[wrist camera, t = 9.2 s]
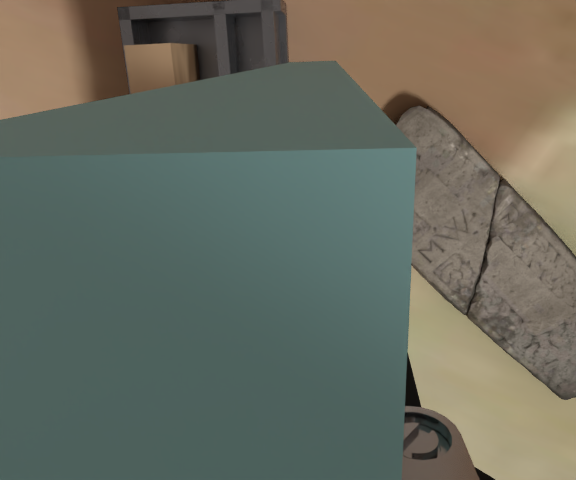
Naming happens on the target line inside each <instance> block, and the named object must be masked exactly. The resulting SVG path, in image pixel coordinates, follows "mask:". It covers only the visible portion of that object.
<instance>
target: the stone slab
mask: <svg viewBox="0 0 576 480" xmlns="http://www.w3.org/2000/svg"><path fill="white" fill-rule="evenodd" d="M396 126H397V127H398V128H399V129H400V130H401V132H402V133H403V134H404V135H405V136H406V137H407V138H408V139H409V140H410V141H411V142H412V143H413V144H414V145H415V147H416V148H417V151H416V173H415V195H414V217H413V239H412V261H411V265H412V266H413V267H414V268H415V269H416V270H417V271H418V272H419V273H420V274H421V276H422V277H423V278H425V279H426V280H427V281H428V282H429V284H430V285H432V286H433V288H434V289H436V290H437V291H438V292H439V293H440V294H441V295H442V296H443V297H444V298H445V299H446V300H447V301H448V302H450V303H451V304H452V305H453V306H454V307H455V308H456V309H458V310H459V311H461V313H462V314H464V315H467V316H468V318H469V319H470V320H471V321H472V322H473V323H474V324H475V325H476V326H478V327H479V328H480V329H481V330H482V331H483V332H484V333H485V334H487V335H488V336H489V337H490V338H491V339H492V340H493V341H494V342H495V343H496V344H497V345H499V346H500V347H501V348H502V349H503V350H504V351H505V352H506V353H508V354H509V355H510V356H511V357H512V358H513V359H515V360H516V361H518V362H519V363H520V364H521V365H523V366H524V367H525V368H526V369H527V370H528V371H529V372H531V373H532V375H533V376H535V377H536V378H537V379H539V380H540V381H541V382H543V383H544V384H545V385H546V386H547V387H548V388H550V390H551V391H553V392H554V393H555V394H556V395H557V396H558V397H560V398H561V399H564V400H568V399H571V398H573V397H576V257H575V255H574V254H573V253H572V251H571V250H570V249H569V248H568V247H567V246H566V245H565V243H564V242H563V241H562V240H561V239H560V238H559V237H558V235H557V234H556V233H555V232H554V231H553V229H552V228H551V227H550V226H549V225H548V224H547V223H546V222H545V221H544V220H543V219H542V217H541V216H539V215H538V213H537V212H536V211H535V210H534V209H533V208H532V207H531V206H530V205H529V204H528V203H526V201H525V200H524V199H523V198H522V197H521V196H520V195H519V194H518V193H517V192H516V191H515V190H514V189H513V187H512V186H511V185H510V184H509V183H508V182H507V181H506V180H501V181H499V180H500V176H499V175H498V173H497V172H496V171H495V170H494V169H493V168H492V167H491V166H490V164H488V163H487V161H486V160H485V159H484V158H483V157H482V156H481V155H480V154H479V153H478V152H477V151H476V150H475V149H474V148H473V147H472V146H471V144H470V143H468V141H467V140H466V139H465V138H464V137H463V135H462V134H461V133H460V132H459V131H458V130H457V129H456V128H455V127H454V126H453V125H452V124H451V123H450V122H449V121H448V120H446V119H445V118H444V117H443V116H441V115H440V114H439V113H438V112H437V111H435V110H433V109H432V108H430V107H427V109H425V108H423V107H421V106H416V107H412V108H410V109H409V110H407V111H406V112H405V113H403V115H402V116H401V118H400V119H399V121H398V123H397V124H396Z"/></svg>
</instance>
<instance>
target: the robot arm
mask: <svg viewBox="0 0 576 480" xmlns="http://www.w3.org/2000/svg"><path fill="white" fill-rule="evenodd" d="M402 480H495V479H493V478H492V477H490V476H489V475H487V474H485V473H484V472H482V471H480V470H479V469H477V468H475V467H474V465H473V463H472V460H471V458H470V455H469V453H468V450H467V448H466V446H465V443H464V441H463V438H462V436H461V434H460V432H459V431H458V429H457V427H456V426H455V425H454V424H453V423H452V422H451V421H450V420H449V419H447V418H446V417H445V416H443V415H441V414H439V413H437V412H435V411H433V410H429V409H425V408H422V407H421V404H420V400H419V396H418V392H417V388H416V384H415V380H414V376H413V372H412V368H411V364H410V360H409V356H408V352H407V371H406V393H405V415H404V437H403V459H402Z"/></svg>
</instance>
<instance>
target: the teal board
mask: <svg viewBox="0 0 576 480" xmlns="http://www.w3.org/2000/svg"><path fill="white" fill-rule="evenodd" d="M416 151H417V148H416V147H415V145H414V144H413V143H412V142H411V141H410V140H409V139H408V138H407V137H406V136H405V135H404V134H403V133H402V132H401V130H400V129H399V128H398V127H397V126H396V125H395V124H394V123H393V122H392V121H391V120H390V119H389V118H388V117H387V115H386V114H385V113H384V112H383V111H382V110H381V109H380V108H379V107H378V106H377V105H376V104H375V103H374V102H373V100H372V99H371V98H370V97H369V96H368V95H367V94H366V93H365V92H364V91H363V90H362V89H361V88H360V87H359V85H358V84H357V83H356V82H355V81H354V80H353V79H352V78H351V77H350V76H349V75H348V74H347V73H346V72H345V70H344V69H343V68H342V67H341V66H340V65H339V64H338V63H337V62H336V61H316V62H289V63H284V64H279V65H274V66H269V67H264V68H259V69H254V70H249V71H244V72H239V73H234V74H229V75H224V76H219V77H214V78H209V79H204V80H199V81H194V82H189V83H184V84H179V85H174V86H169V87H164V88H159V89H154V90H149V91H144V92H139V93H134V94H128V95H123V96H118V97H113V98H108V99H103V100H98V101H93V102H88V103H83V104H78V105H73V106H68V107H63V108H58V109H53V110H48V111H43V112H38V113H33V114H28V115H23V116H18V117H13V118H8V119H3V120H0V480H402V459H403V437H404V415H405V393H406V371H407V349H408V327H409V305H410V283H411V261H412V239H413V217H414V195H415V173H416Z"/></svg>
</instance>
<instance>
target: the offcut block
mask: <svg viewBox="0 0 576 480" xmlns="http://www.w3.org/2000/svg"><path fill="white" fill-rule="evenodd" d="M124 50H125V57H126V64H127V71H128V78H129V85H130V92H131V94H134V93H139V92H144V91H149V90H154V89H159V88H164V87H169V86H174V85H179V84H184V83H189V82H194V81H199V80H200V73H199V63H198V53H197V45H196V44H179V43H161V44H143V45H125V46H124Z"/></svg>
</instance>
